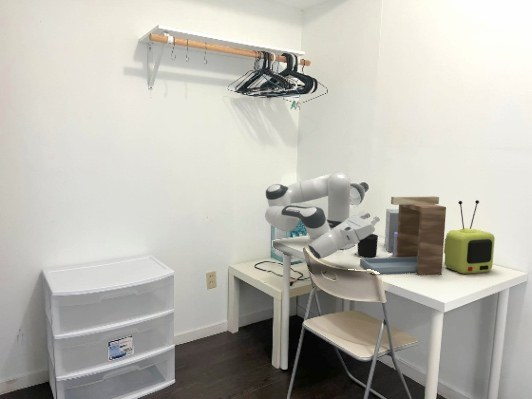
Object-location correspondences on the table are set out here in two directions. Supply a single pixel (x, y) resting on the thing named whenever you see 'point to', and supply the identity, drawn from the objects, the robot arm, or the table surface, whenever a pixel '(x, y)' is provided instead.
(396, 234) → the ink cartridge box
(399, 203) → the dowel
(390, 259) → the tray
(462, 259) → the television
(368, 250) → the pen holder
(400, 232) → the shelf
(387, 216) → the hard drive box
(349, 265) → the table surface
